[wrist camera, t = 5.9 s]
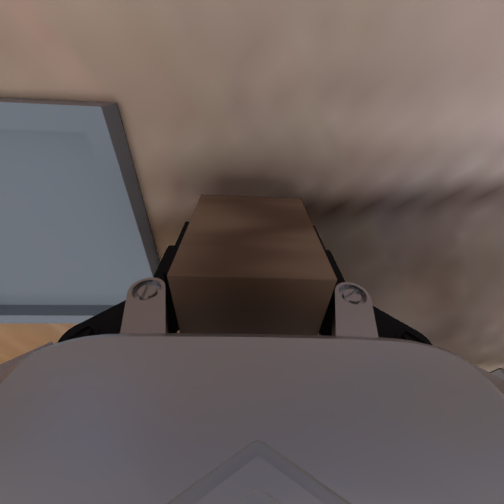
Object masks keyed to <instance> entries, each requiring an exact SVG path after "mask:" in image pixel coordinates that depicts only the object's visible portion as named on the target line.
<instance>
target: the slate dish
mask: <svg viewBox="0 0 504 504" xmlns="http://www.w3.org/2000/svg"><path fill="white" fill-rule="evenodd" d="M159 264H160V263H159V259H158V255H157V252H156V248H155V244H154V240H153V237H152V233H151V229H150V226H149V222H148V218H147V214H146V211H145V207H144V203H143V199H142V196H141V192H140V188H139V184H138V181H137V177H136V173H135V169H134V166H133V162H132V158H131V154H130V151H129V147H128V143H127V139H126V136H125V132H124V128H123V124H122V121H121V117H120V113H119V109H118V106H117V103H108V102H87V101H66V100H45V99H24V98H3V97H0V323H81V322H83V321H85V320H87V319H89V318H91V317H93V316H95V315H97V314H99V313H101V312H103V311H105V310H107V309H109V308H111V307H113V306H115V305H117V304H119V303H121V302H123V301H125V300H126V297H127V292H128V289H129V288H130V287H131V285H132V284H134V283H135V282H137V281H139V280H141V279H144V278H150V277H153V276H154V274H155V272H156V270H157V268H158V266H159Z"/></svg>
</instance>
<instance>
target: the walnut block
mask: <svg viewBox="0 0 504 504" xmlns="http://www.w3.org/2000/svg"><path fill="white" fill-rule="evenodd" d="M167 278H168V282H169V287H170V291H171V295H172V299H173V304H174V308H175V312H176V317H177V321H178V325H179V329H180V333H202V334H273V335H318V333H319V330H320V327H321V324H322V321H323V318H324V316H325V313H326V310H327V307H328V304H329V302H330V299H331V296H332V293H333V290H334V287H335V285H336V282H337V278H336V276H335V273H334V271H333V269H332V267H331V265H330V262H329V260H328V258H327V256H326V254H325V251H324V249H323V247H322V245H321V243H320V240H319V238H318V236H317V234H316V232H315V229H314V227H313V225H312V223H311V220H310V218H309V216H308V214H307V212H306V209H305V207H304V205H303V203H302V201H301V198H274V197H247V196H219V195H201V197H200V199H199V202H198V204H197V206H196V209H195V211H194V213H193V216H192V218H191V220H190V223H189V225H188V227H187V230H186V232H185V234H184V237H183V239H182V241H181V244H180V246H179V248H178V251H177V253H176V255H175V258H174V260H173V262H172V265H171V267H170V269H169V272H168V274H167Z"/></svg>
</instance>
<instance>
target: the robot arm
mask: <svg viewBox="0 0 504 504" xmlns="http://www.w3.org/2000/svg"><path fill="white" fill-rule="evenodd" d="M189 223H190V222H185V224H184V227H183V229H182V231H181V233H180V235H179V238H178V240H177V242H176V244H175V246H171V245H170V246H168V248H167V250H166V252H165V254H164V256H163V258H162V260H161V262H160V264H159V266H158V268H157V270H156V272H155V274H154V276H153V277H150V278H144V279H141V280H139V281H137V282H135V283H134V284H132V285H131V287H130V288H129V289H128V292H127V297H126V300H125V301H123V302H121V303H119V304H117V305H115V306H113V307H111V308H109V309H107V310H105V311H103V312H101V313H99V314H97V315H95V316H93V317H91V318H89V319H87V320H85V321H83V322H81V323H80V324H78V325H76V326H74V327H72V328H71V329H69V330H68V331H67V332H66V333H65V334H63V336H62V337H61V338H60V340H59V341H58V342H57V343H55V344H53V343H52V342H49V343H47V344H45V345H43V346H40V347H38V348H36V349H34V350H32V351H29V352H27V353H25V354H23V355H20V356H18V357H16V358H14V359H11V360H9V361H7V362H5V363H3V364H0V504H504V380H502V379H501V378H499V377H497V376H495V375H493V374H491V373H489V372H487V371H485V370H483V369H481V368H479V367H477V366H475V365H473V364H472V363H471V362H469V361H467V360H466V359H464V358H462V357H460V356H458V355H456V354H454V353H452V352H449V351H447V350H444V349H442V348H440V347H435V346H432V344H431V343H430V341H429V340H428V339H427V338H426V337H425V336H424V335H422V334H421V333H419V332H418V331H416V330H414V329H413V328H411V327H409V326H407V325H406V324H404V323H402V322H400V321H399V320H397V319H395V318H393V317H391V316H390V315H388V314H386V313H384V312H383V311H381V310H379V309H377V308H376V307H374V306H372V301H371V297H370V294H369V293H368V292H367V290H365V289H364V288H363V287H361V286H359V285H358V284H355V283H351V282H345V280H344V278H343V276H342V274H341V272H340V270H339V268H338V266H337V264H336V262H335V260H334V258H333V256H332V254H331V252H330V251H329V250H325V247H324V245H323V243H322V241H321V239H320V237H319V234H318V232H317V230H316V228H315V226H313V227H314V229H315V232H316V234H317V236H318V238H319V240H320V243H321V245H322V247H323V249H324V251H325V254H326V256H327V258H328V260H329V262H330V265H331V267H332V269H333V271H334V273H335V276H336V278H337V282H336V285H335V287H334V290H333V293H332V296H331V299H330V302H329V304H328V307H327V310H326V313H325V316H324V318H323V321H322V324H321V327H320V330H319V335H273V334H202V333H177V331H178V330H180V329H179V325H178V321H177V317H176V312H175V308H174V304H173V299H172V295H171V291H170V287H169V282H168V278H167V274H168V272H169V269H170V267H171V265H172V262H173V260H174V258H175V255H176V253H177V251H178V248H179V246H180V244H181V241H182V239H183V237H184V234H185V232H186V230H187V227H188V225H189Z"/></svg>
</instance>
